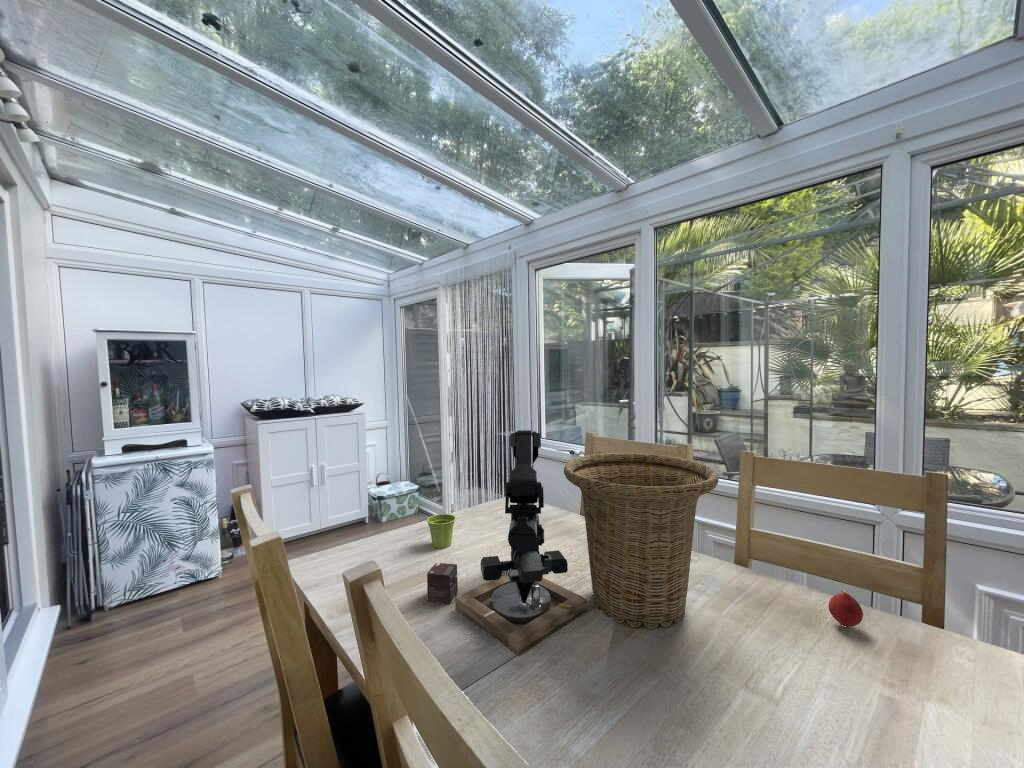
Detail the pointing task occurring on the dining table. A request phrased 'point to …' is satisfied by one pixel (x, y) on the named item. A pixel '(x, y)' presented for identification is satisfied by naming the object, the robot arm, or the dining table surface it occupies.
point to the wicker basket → (640, 531)
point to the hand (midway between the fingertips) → (523, 602)
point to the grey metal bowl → (520, 603)
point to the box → (442, 583)
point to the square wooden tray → (527, 634)
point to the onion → (845, 609)
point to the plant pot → (441, 529)
